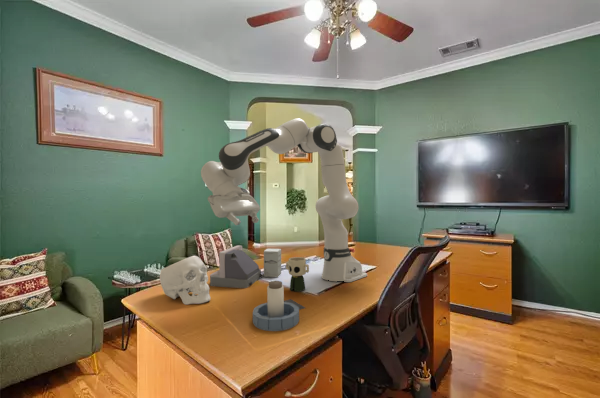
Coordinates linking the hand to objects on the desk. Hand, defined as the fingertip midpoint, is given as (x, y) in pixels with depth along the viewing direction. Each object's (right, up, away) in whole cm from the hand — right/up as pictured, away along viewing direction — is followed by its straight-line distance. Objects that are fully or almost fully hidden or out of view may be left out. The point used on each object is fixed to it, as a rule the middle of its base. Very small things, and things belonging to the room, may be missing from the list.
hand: (247, 222), depth 101 cm
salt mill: (+11, -29, -14) cm, 33 cm away
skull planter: (-25, -30, +8) cm, 40 cm away
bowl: (+11, -29, -13) cm, 34 cm away
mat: (+14, -29, -2) cm, 32 cm away
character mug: (+18, -29, +16) cm, 38 cm away
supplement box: (+5, -29, +39) cm, 49 cm away
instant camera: (-10, -30, +30) cm, 43 cm away
